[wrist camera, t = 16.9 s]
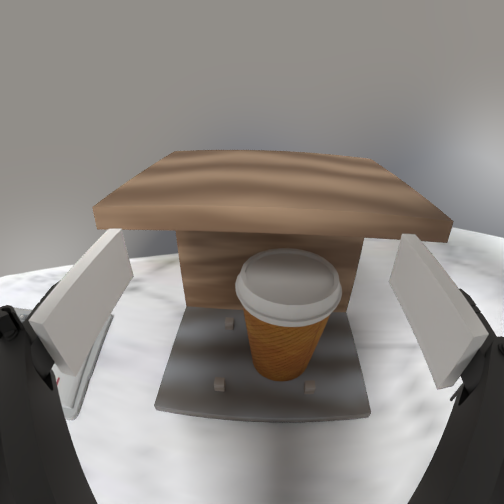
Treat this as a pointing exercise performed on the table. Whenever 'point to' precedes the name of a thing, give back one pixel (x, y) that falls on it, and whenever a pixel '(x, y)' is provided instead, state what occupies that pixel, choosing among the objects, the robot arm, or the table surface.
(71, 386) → the office telephone
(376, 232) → the walnut overhang shelf
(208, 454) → the table surface
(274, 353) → the disposable coffee cup
